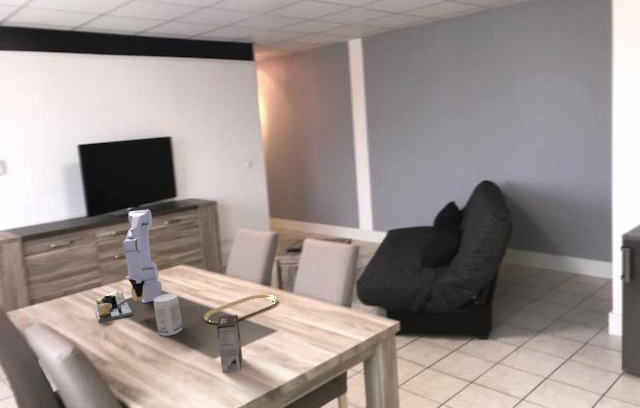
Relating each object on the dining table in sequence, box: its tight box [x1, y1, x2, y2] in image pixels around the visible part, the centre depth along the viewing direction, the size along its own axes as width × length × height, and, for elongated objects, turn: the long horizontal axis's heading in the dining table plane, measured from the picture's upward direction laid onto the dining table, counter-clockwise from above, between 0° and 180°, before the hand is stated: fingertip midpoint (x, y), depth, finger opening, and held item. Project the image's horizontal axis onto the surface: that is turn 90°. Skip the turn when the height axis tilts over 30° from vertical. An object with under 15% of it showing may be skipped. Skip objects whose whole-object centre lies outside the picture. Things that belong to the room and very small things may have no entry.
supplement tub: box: [153, 293, 183, 337], centre depth 205 cm, size 10×10×15 cm
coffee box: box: [216, 314, 243, 373], centre depth 171 cm, size 9×6×16 cm
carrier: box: [94, 301, 133, 323], centre depth 233 cm, size 14×16×7 cm
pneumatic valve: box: [95, 291, 125, 307], centre depth 244 cm, size 6×12×12 cm
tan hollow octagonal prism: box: [130, 287, 145, 302], centre depth 227 cm, size 5×5×5 cm
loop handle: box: [203, 294, 278, 325], centre depth 225 cm, size 19×35×2 cm, turn 135°
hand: (138, 294), depth 227 cm, fingers closed on tan hollow octagonal prism, 5 cm apart
